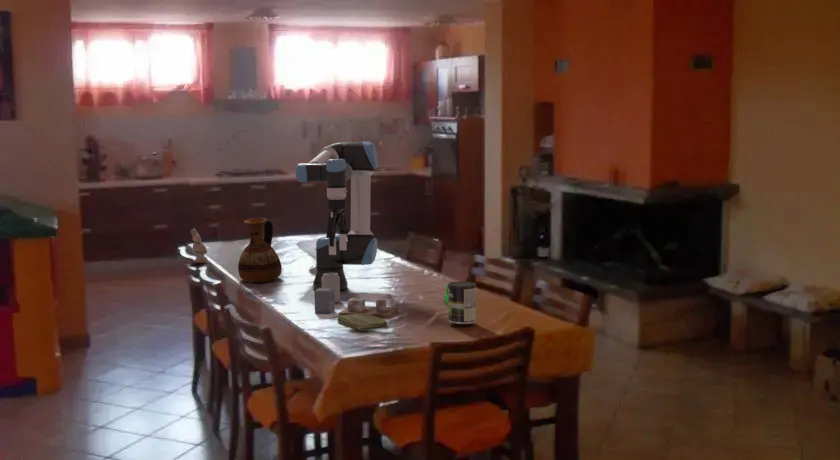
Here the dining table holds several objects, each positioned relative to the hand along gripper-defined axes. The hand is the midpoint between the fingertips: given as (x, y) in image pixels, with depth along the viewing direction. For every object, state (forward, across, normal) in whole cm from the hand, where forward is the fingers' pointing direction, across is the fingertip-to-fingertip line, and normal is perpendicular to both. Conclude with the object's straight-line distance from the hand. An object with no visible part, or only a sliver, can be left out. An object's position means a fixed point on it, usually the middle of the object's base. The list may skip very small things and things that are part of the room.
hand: (337, 252), depth 369 cm
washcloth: (+24, -24, -16) cm, 38 cm away
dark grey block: (+23, -6, +4) cm, 24 cm away
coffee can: (+23, -13, -52) cm, 58 cm away
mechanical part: (+23, +22, -42) cm, 53 cm away
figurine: (+22, +91, +103) cm, 139 cm away
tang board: (+23, -6, -14) cm, 27 cm away
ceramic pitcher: (+22, +56, +56) cm, 82 cm away
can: (+23, +14, +8) cm, 28 cm away
